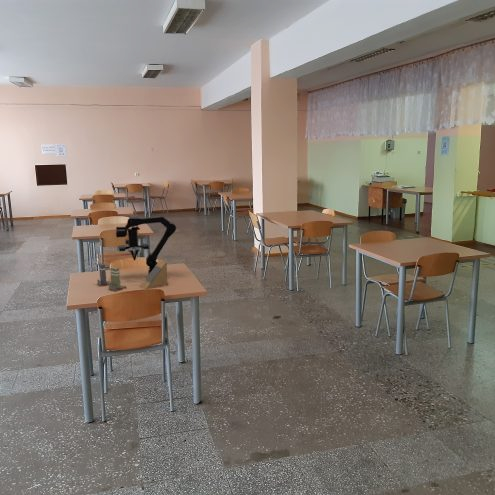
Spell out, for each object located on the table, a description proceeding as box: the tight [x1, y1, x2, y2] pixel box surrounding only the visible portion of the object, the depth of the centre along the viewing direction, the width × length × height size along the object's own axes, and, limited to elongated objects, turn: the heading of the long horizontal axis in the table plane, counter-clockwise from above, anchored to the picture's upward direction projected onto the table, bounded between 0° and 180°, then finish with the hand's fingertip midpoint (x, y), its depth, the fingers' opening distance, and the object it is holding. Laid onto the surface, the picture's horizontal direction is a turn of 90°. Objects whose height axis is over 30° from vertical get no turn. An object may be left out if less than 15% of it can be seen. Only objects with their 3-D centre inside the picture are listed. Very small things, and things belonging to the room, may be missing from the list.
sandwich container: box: [139, 259, 168, 290], centre depth 291 cm, size 9×15×15 cm, turn 127°
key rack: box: [96, 279, 127, 292], centre depth 291 cm, size 10×22×3 cm, turn 45°
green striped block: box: [109, 267, 121, 289], centre depth 284 cm, size 3×5×12 cm, turn 57°
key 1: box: [98, 262, 107, 284], centre depth 294 cm, size 3×5×12 cm, turn 31°
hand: (134, 260), depth 307 cm, fingers closed
